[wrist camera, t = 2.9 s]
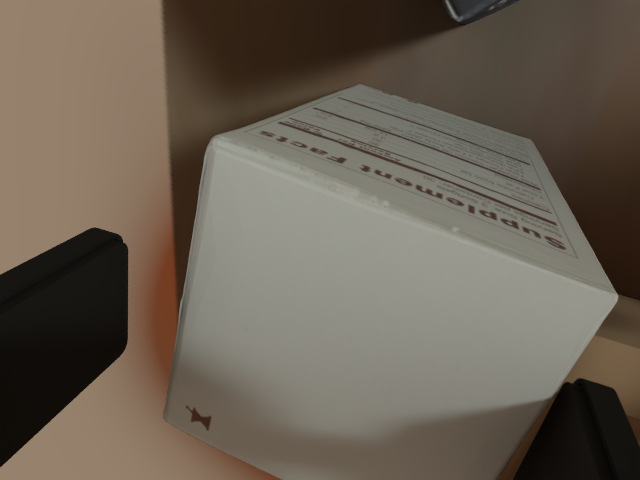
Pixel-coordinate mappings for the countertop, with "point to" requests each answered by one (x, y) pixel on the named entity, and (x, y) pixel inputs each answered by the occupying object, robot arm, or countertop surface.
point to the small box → (473, 9)
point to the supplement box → (378, 294)
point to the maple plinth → (603, 370)
